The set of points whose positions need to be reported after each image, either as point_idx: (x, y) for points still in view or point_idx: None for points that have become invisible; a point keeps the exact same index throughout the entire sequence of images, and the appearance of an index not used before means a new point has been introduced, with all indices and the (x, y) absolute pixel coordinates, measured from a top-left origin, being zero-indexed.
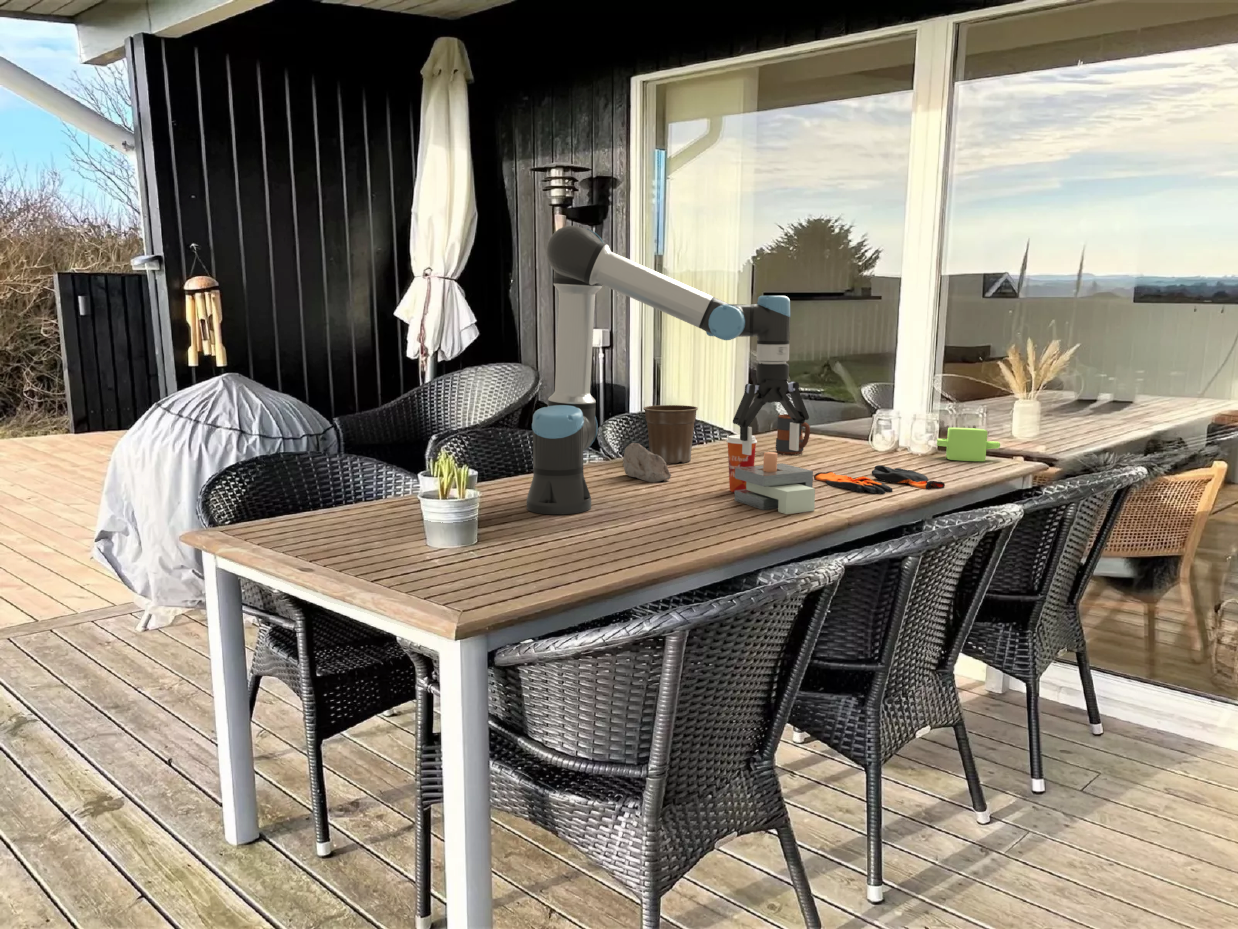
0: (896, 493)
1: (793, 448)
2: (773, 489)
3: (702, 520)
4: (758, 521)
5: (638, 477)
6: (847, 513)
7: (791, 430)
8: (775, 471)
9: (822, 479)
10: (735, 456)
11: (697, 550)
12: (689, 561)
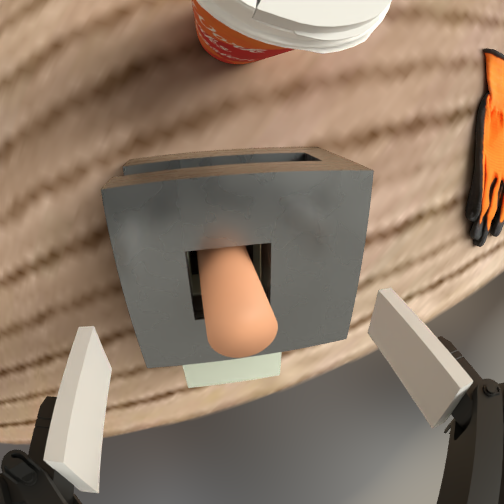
0: (488, 248)
1: (375, 323)
2: None
3: (4, 327)
4: None
5: None
6: (307, 364)
7: (428, 369)
8: None
9: (488, 78)
10: (201, 14)
11: (7, 427)
12: (4, 441)
